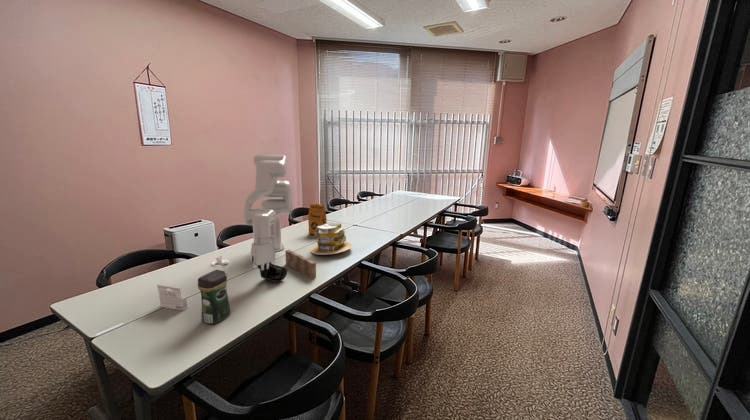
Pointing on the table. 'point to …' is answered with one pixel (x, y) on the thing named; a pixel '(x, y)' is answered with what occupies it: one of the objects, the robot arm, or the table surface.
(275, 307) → the table surface
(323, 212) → the coffee package
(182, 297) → the ink cartridge box
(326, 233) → the stacked tins on plate
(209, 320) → the coffee jar
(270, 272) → the end cap
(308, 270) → the walnut board
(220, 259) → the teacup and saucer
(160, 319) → the table surface
